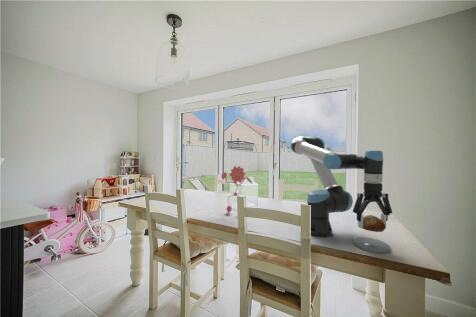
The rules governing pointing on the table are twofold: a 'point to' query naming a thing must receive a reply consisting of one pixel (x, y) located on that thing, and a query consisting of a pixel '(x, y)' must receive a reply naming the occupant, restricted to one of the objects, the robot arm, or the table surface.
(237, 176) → the red flower ornament
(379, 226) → the bread roll
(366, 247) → the plate
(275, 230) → the table surface
